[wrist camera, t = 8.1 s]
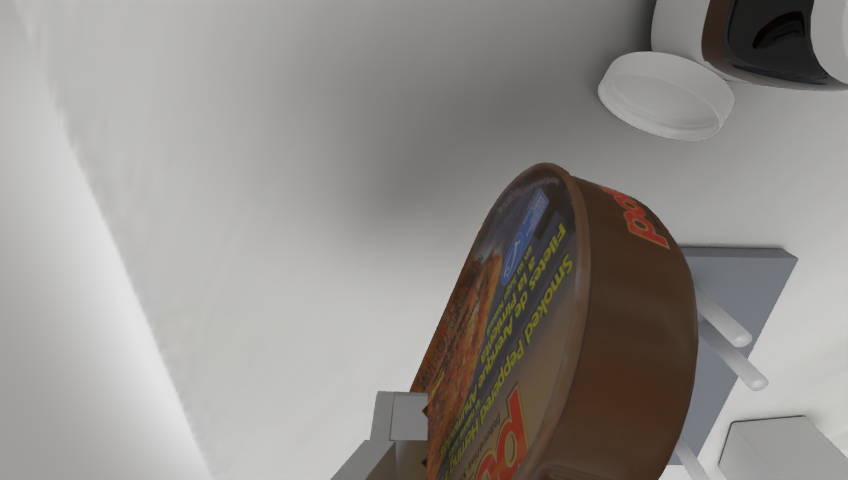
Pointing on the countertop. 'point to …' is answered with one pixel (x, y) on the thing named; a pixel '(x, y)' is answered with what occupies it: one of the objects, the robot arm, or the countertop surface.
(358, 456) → the robot arm
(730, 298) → the pin tray
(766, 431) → the medicine bottle
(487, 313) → the tin
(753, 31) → the spread jar
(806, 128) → the countertop surface
